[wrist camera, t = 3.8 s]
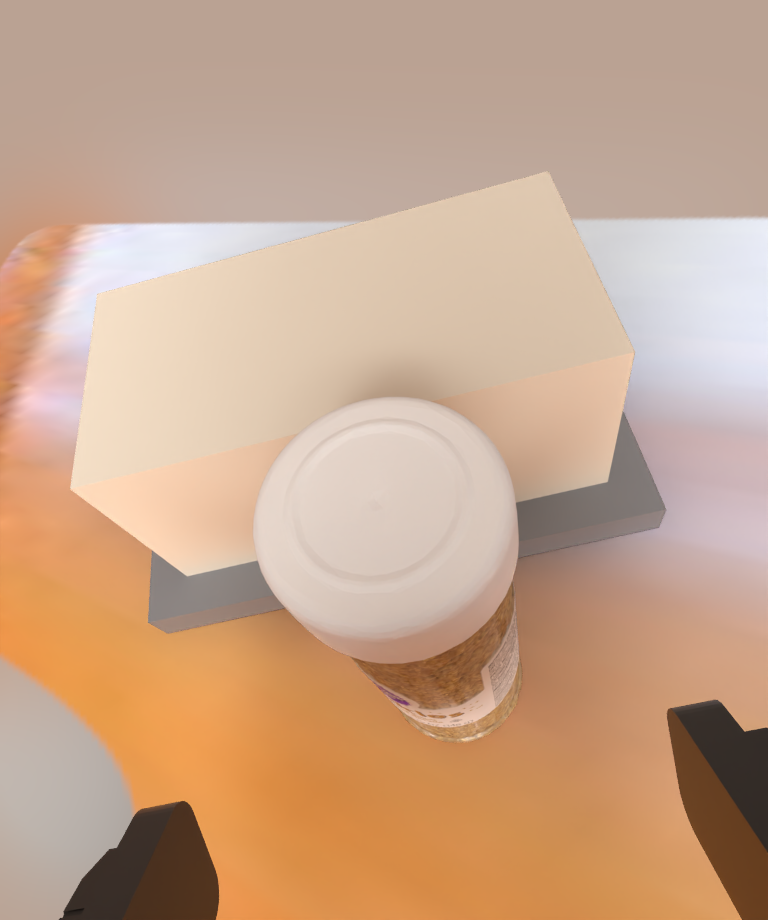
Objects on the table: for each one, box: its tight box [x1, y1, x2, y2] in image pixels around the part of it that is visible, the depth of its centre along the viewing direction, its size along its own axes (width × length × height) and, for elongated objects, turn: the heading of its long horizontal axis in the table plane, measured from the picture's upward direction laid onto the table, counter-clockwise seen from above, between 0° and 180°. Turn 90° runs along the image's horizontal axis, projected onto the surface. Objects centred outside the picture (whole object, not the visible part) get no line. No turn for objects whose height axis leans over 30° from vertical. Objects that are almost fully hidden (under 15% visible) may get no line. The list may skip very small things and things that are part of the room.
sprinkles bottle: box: [253, 397, 522, 743], centre depth 16 cm, size 5×4×13 cm
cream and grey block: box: [70, 171, 666, 633], centre depth 23 cm, size 19×11×9 cm, turn 99°
